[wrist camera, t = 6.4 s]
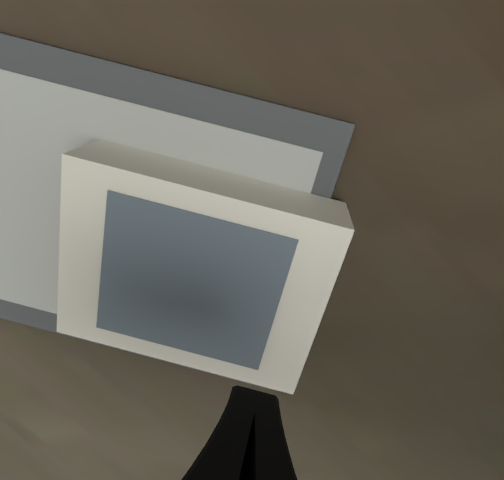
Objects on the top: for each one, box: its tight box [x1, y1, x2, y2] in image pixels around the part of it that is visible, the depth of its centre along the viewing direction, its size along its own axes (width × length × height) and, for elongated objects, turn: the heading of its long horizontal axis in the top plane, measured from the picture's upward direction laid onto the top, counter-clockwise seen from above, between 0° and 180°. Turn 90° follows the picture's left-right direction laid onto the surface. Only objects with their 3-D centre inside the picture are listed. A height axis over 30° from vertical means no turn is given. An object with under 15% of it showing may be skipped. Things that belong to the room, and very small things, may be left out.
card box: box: [57, 139, 355, 394], centre depth 19 cm, size 4×9×12 cm
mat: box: [0, 33, 355, 389], centre depth 21 cm, size 18×16×1 cm
